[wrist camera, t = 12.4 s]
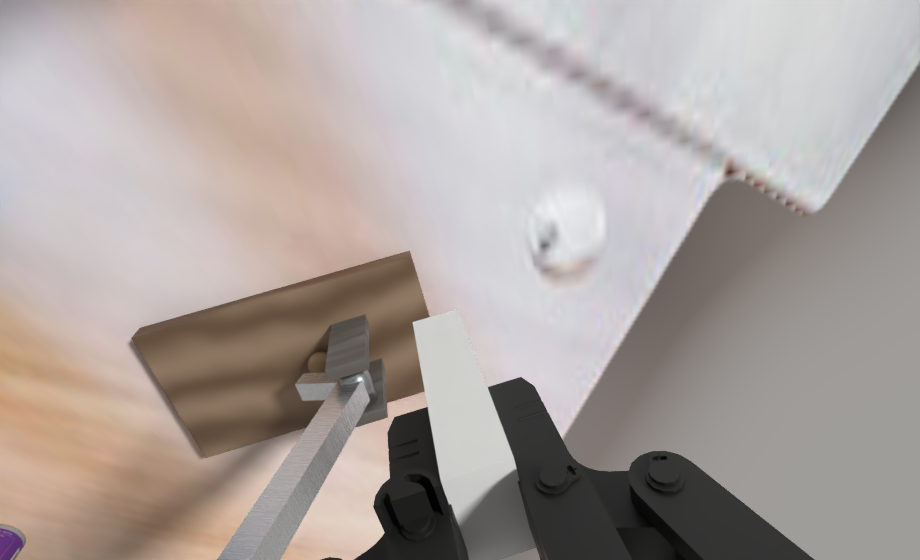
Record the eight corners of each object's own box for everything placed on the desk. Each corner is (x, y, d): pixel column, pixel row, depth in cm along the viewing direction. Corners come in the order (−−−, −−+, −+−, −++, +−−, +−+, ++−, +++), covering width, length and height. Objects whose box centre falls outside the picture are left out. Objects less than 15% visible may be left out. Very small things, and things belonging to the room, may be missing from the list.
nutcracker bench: (140, 328, 49) (85, 390, 40) (409, 250, 51) (419, 292, 41) (211, 445, 56) (179, 522, 46) (446, 373, 58) (462, 434, 48)
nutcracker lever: (303, 363, 48) (85, 631, 27) (374, 359, 45) (195, 650, 25) (316, 391, 49) (119, 667, 29) (386, 389, 47) (225, 688, 26)
